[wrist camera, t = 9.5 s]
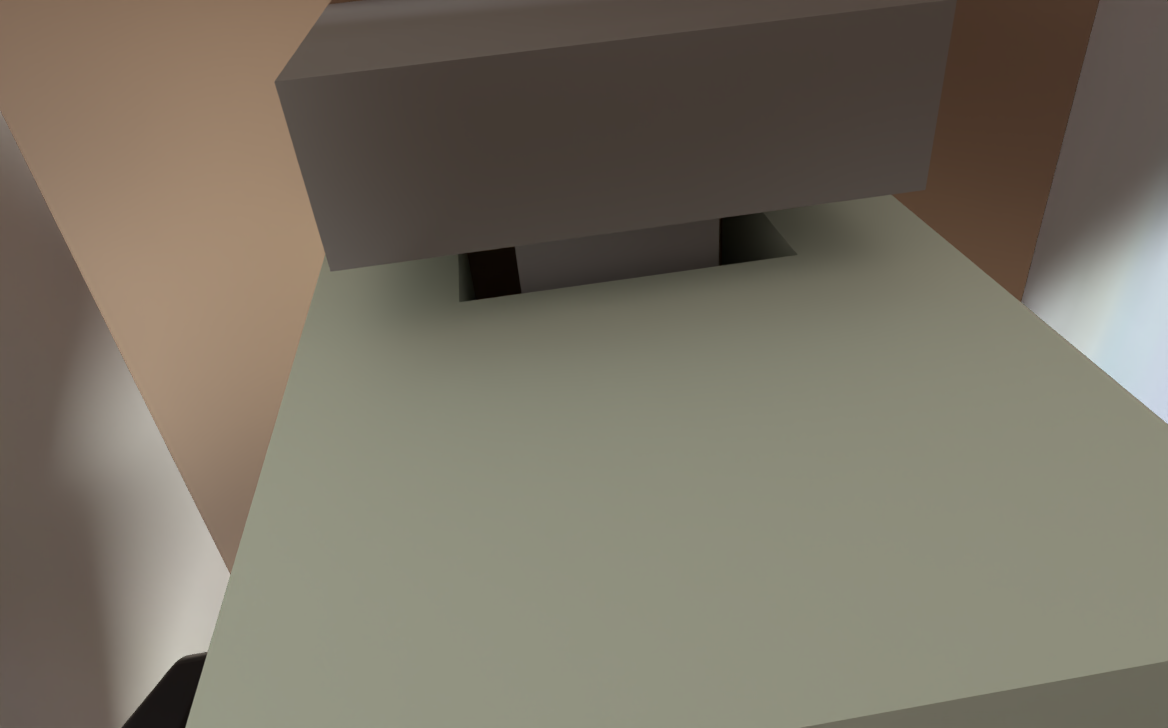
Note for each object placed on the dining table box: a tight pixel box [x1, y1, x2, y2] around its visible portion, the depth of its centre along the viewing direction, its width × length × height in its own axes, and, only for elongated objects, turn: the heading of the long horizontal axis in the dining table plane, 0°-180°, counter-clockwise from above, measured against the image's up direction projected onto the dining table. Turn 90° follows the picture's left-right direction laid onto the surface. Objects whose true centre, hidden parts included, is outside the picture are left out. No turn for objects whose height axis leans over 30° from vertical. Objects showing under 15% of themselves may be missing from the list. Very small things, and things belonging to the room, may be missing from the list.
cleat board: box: [0, 0, 1099, 575], centre depth 12 cm, size 16×12×4 cm
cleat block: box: [185, 195, 1168, 728], centre depth 9 cm, size 7×6×7 cm
